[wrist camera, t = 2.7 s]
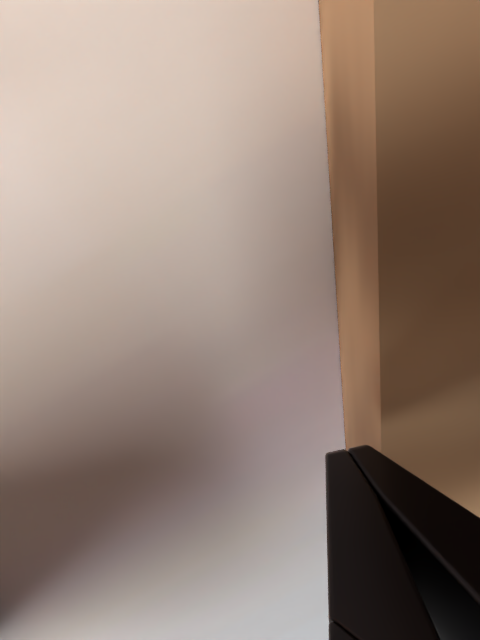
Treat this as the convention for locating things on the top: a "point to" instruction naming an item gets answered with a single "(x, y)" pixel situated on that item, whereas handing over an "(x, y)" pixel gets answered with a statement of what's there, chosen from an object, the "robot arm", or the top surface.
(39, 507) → the top surface
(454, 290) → the walnut board
